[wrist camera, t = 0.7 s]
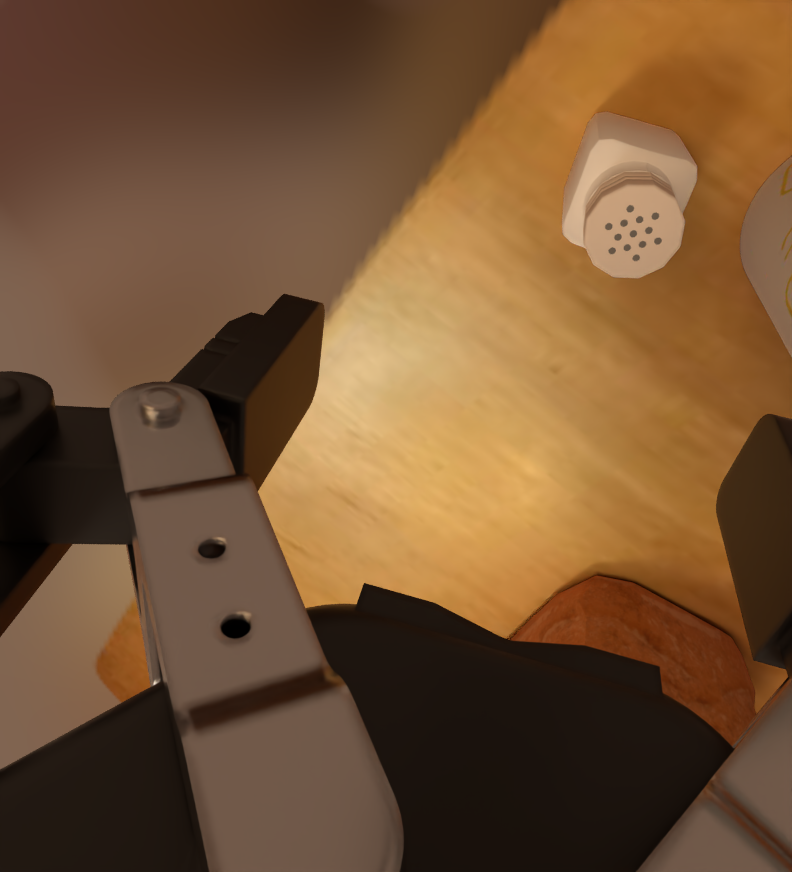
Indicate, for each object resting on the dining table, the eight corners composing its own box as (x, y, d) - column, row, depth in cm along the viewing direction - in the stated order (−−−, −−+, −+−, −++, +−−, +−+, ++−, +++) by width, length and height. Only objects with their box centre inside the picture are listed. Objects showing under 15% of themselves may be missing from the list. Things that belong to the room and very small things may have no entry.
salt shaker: (559, 197, 31) (553, 271, 24) (593, 105, 29) (598, 155, 21) (643, 221, 31) (665, 305, 23) (684, 131, 29) (722, 190, 21)
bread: (405, 729, 59) (360, 927, 47) (587, 553, 43) (591, 784, 31) (542, 797, 60) (532, 1006, 48) (769, 650, 44) (840, 908, 32)
